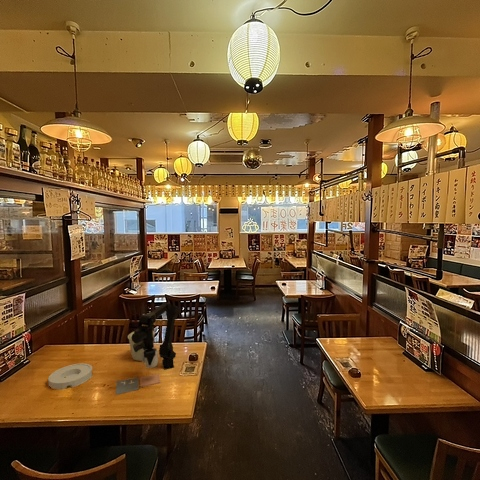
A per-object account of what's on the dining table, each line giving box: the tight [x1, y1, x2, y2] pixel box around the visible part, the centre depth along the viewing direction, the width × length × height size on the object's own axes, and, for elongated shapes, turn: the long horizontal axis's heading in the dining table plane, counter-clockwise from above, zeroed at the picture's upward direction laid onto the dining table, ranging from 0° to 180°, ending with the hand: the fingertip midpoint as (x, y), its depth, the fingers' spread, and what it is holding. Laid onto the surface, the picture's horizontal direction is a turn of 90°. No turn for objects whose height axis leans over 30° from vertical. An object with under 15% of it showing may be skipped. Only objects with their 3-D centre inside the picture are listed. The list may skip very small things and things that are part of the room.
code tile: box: [115, 376, 140, 396], centre depth 165 cm, size 12×14×1 cm
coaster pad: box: [139, 373, 161, 388], centre depth 170 cm, size 11×10×1 cm
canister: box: [127, 330, 156, 362], centre depth 200 cm, size 18×18×21 cm
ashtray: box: [47, 363, 93, 390], centre depth 174 cm, size 23×23×4 cm
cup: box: [141, 347, 159, 369], centre depth 169 cm, size 7×10×9 cm
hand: (149, 362), depth 169 cm, fingers closed on cup, 7 cm apart
